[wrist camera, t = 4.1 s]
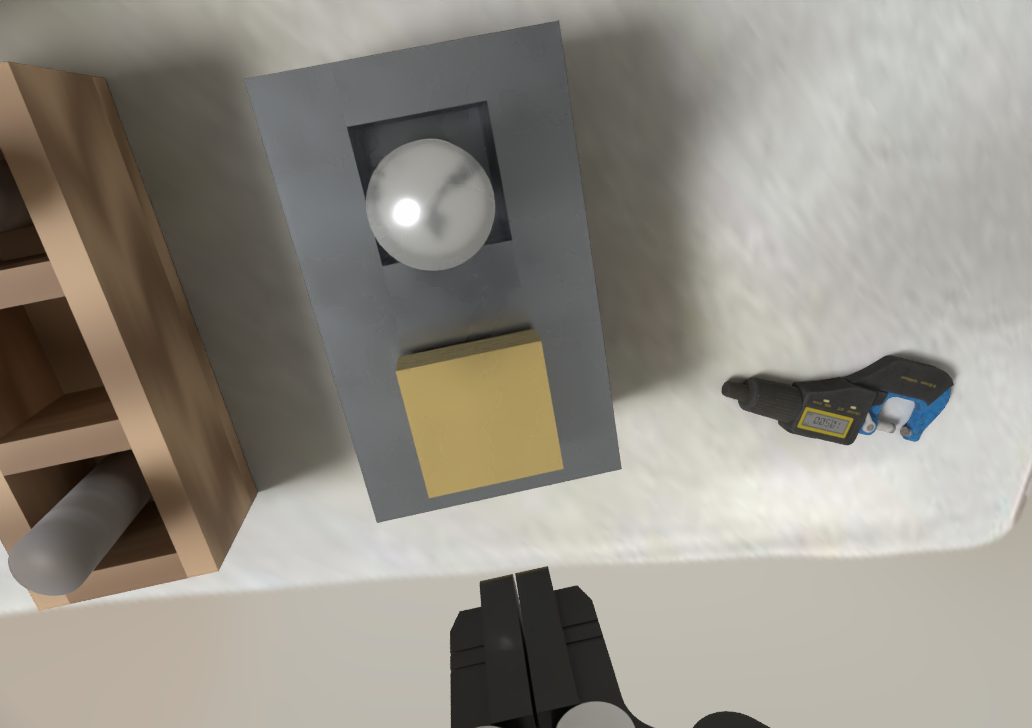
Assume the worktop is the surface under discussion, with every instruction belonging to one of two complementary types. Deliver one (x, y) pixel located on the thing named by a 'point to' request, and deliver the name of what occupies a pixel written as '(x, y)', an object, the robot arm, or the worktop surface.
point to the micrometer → (849, 400)
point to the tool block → (461, 289)
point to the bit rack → (99, 363)
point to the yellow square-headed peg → (480, 412)
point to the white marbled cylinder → (430, 204)
